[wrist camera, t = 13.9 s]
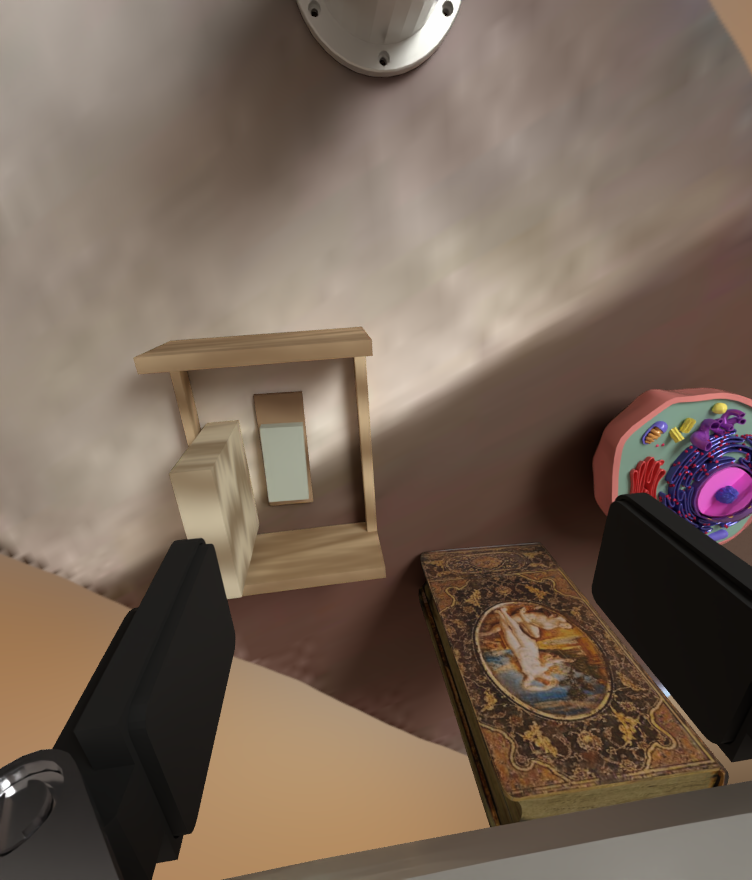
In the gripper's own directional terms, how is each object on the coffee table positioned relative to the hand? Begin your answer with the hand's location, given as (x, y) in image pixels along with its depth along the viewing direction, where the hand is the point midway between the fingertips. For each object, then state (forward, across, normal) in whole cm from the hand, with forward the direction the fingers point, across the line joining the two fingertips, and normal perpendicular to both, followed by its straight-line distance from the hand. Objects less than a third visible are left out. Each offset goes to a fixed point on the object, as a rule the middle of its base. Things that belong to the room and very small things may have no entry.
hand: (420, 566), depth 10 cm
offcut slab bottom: (+32, +7, +11) cm, 35 cm away
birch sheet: (+31, +12, +13) cm, 36 cm away
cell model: (+32, -33, +14) cm, 48 cm away
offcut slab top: (+31, +7, +12) cm, 34 cm away
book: (+31, -15, +28) cm, 45 cm away
